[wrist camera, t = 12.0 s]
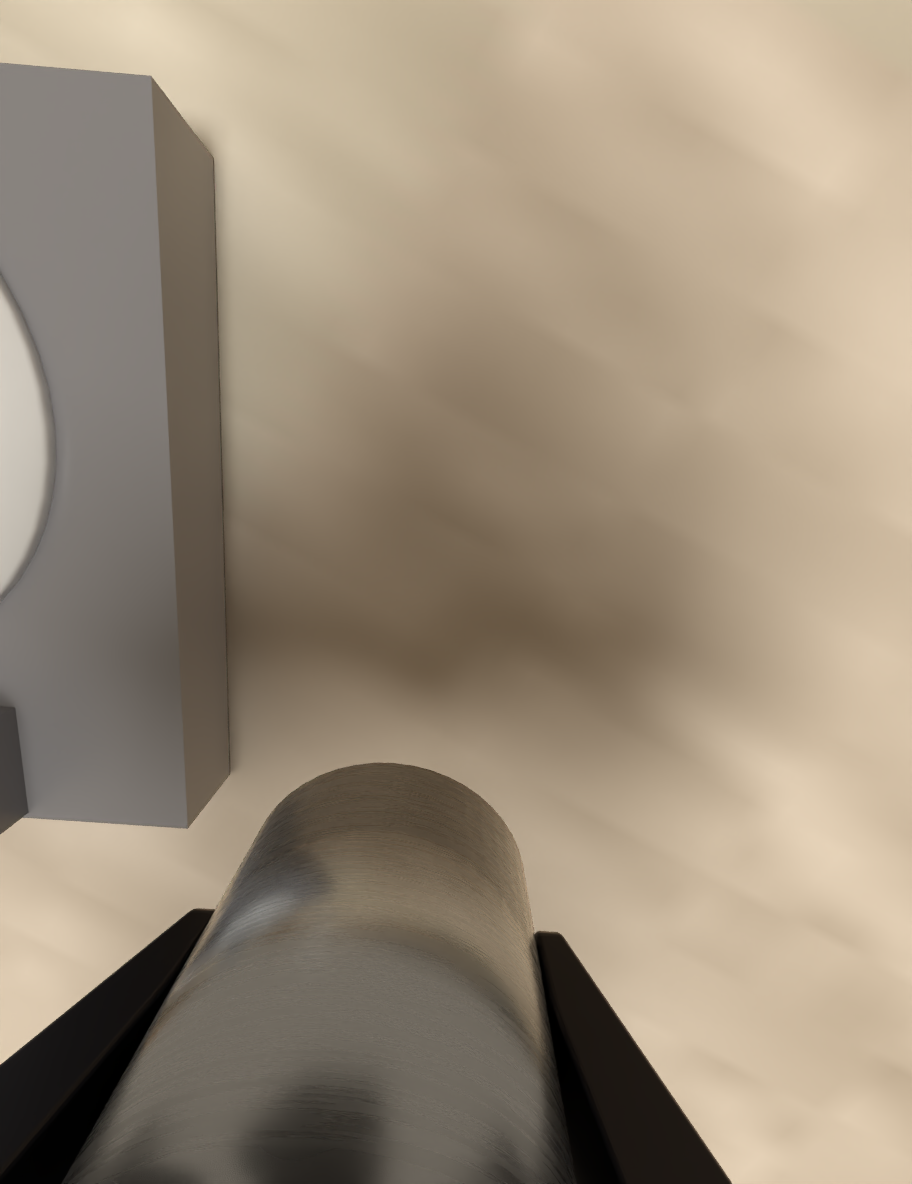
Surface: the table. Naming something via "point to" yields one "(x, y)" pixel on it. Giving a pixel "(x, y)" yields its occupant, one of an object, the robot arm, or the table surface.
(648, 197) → the table surface
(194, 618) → the kitchen scale
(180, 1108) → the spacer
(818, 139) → the table surface
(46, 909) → the table surface
